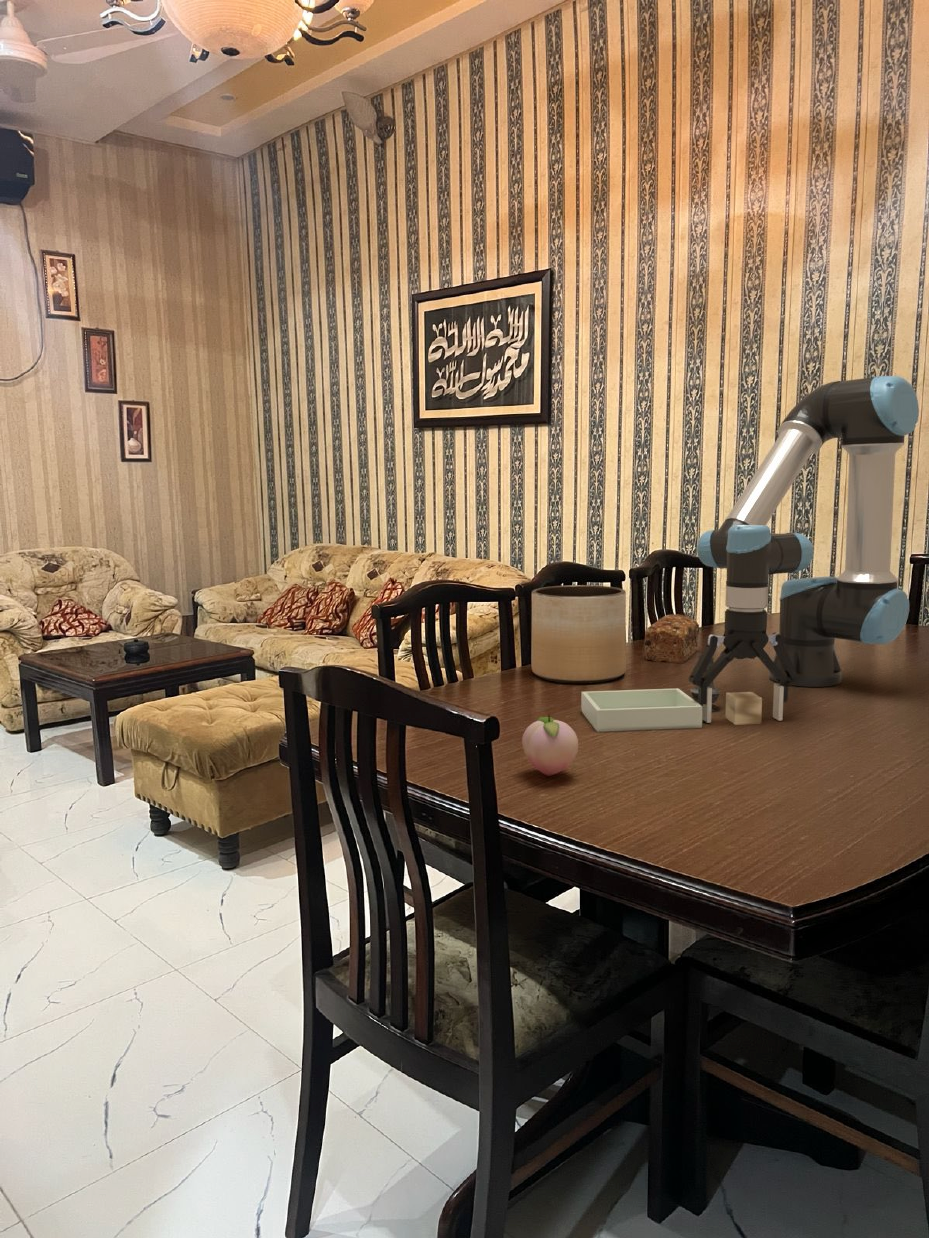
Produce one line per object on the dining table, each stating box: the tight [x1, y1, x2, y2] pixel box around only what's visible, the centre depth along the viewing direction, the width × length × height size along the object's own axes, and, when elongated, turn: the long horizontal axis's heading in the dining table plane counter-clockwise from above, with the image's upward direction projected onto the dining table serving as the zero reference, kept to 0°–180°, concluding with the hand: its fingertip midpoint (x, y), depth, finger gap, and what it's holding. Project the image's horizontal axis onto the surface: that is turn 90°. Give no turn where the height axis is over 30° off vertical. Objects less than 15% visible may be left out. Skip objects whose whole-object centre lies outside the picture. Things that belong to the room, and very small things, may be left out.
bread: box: [644, 613, 700, 664], centre depth 231 cm, size 19×11×10 cm, turn 153°
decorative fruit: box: [521, 713, 579, 777], centre depth 140 cm, size 9×8×10 cm
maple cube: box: [725, 691, 763, 726], centre depth 170 cm, size 5×5×5 cm
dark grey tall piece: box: [689, 654, 722, 712], centre depth 179 cm, size 6×6×12 cm
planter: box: [530, 584, 627, 684], centre depth 210 cm, size 22×22×20 cm
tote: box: [580, 687, 703, 733], centre depth 172 cm, size 20×15×4 cm
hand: (742, 720), depth 170 cm, fingers open, 13 cm apart
